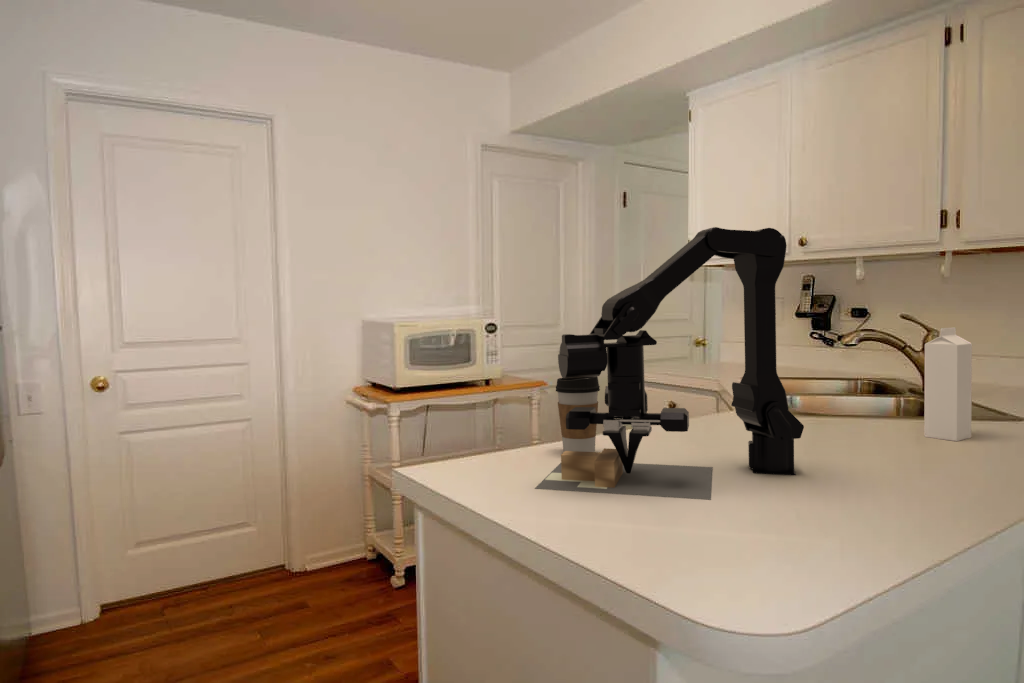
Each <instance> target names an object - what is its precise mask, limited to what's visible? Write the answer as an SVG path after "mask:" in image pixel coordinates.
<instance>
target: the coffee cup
mask: <svg viewBox="0 0 1024 683" xmlns="http://www.w3.org/2000/svg"><path fill="white" fill-rule="evenodd" d="M600 388H601V385H600V384H599V376H596V377H578V378H562V377H559V378H557V379H556V385H555V392H557V398H558V399H557V400H558V402H557V407H558V409H557V410H558V416H559V425H560V432H561V433H560V434H561V441H562V450H563V452H562V453H564V452H565V451H580V452H596V435H597V426H598V424H590V425H589V426H588V427H587V428H586V429H585V430H575V429H566V414H567V413H568V412H569V411H571V410H572V409H573V408H575V407H595V409H596V413H599V412H598V409H599V401H598V394H599V393H598V392H599V391H600V390H601V389H600Z"/></svg>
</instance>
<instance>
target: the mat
mask: <svg viewBox="0 0 1024 683" xmlns="http://www.w3.org/2000/svg"><path fill="white" fill-rule="evenodd" d="M713 470H714V467H713V466H698V465H676V464H657V463H655V464H654V463H635V462H634V463H633V467H632V470H631V473H626V471H625V469H624V466H623V473H622V475H621V477H620V479H619V481H618V482H617V484H616V486H615V488H610V487H595V481H581V480H563V479H562V473H561V462H560V463H559V464H557V466H556V467H555V468H553V470H552V471H550V473H549V474H548V475H547V476H545V478H544V479H542V480H541V481H540V483H538V485H537V486H536V487H535V488H534V489H535V490H545V491H546V490H547V491H548V490H549V491H561V492H562V491H563V492H565V491H566V492H576V493H577V492H578V493H579V492H580V493H593V494H595V493H596V494H613V495H628V496H640V497H641V496H644V497H657V498H673V499H690V500H708V501H711V500H712V486H713V485H712V484H713V472H714V471H713Z"/></svg>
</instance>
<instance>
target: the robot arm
mask: <svg viewBox="0 0 1024 683" xmlns="http://www.w3.org/2000/svg"><path fill="white" fill-rule="evenodd" d="M786 240H787V239H786V238H785V236H784V235H783V234H782V233H781V232H780V231H779V230H777V229H776V228H774V227H772V228H771V227H765V228H762V229H757V230H745V229H728V228H721V227H718V226H713V227H710V228H706V229H702V230H700V231H698V232H697V233H696V235H695V236H694V237H693V238H692V239H691V240H690V241H688V242H687V243H686V244H685V245H684V246H683V247H681V248H680V249H679V250H678V251H676V252H675V253H674V254H672V256H671V257H669V258H667V260H666V261H665V262H663V263H662V264H661V265H660V266H659V267H658V268H656V269H655V270H654V271H653V272H651V273H650V274H649V275H648V276H647V277H645V278H644V279H643V280H641V281H640V282H637V283H635V284H633V285H630V286H629V287H627V288H625V289H623V290H621V291H619V292H618V293H616V294H615V295H613V296H611V297H609V298H608V299H607V300H605V302H604V303H603V305H602V306H601V316H600V318H599V319H598V321H597V323H596V324H595V325H594V326H593V328H592V330H591V331H590V333H588V334H572V333H568V334H567V333H566V334H562V335H561V343H560V346H559V351H558V352H559V353H558V355H557V362H558V369H559V370H558V371H559V374H560V376H561V378H578V377H596V376H597V377H600V375H601V374H602V372H605V370H606V371H607V372H606V373H607V385H605V390H604V404H605V405H606V406H607V408H608V412H598V413H596V409H595V407H575V408H573V409H572V410H571V411H569V412H568V413H567V414H566V429H575V430H585V429H586V428H587V427H588V426H589V425H590V424H597V425H603V426H602V427H603V431H602V435H603V436H608V438H609V440H610V441H611V443H612V444H613V446H614V449H616V450H617V452H618V454H619V457H620V459H621V461H622V464H623V466H624V469H625V471H626V473H631V470H632V467H633V463H635V459H636V456H637V452H638V449H639V446H640V444H641V441H642V439H643V437H649V436H650V434H651V433H652V430H653V429H652V426H660V427H661V428H662V429H663V430H664V431H665V432H677V433H679V432H680V433H683V432H685V433H686V432H688V431H689V428H690V414H689V413H690V412H689V411H688V410H687V409H686V408H685V407H663V408H662V409H661V411H660V413H659V412H648V410H649V409H648V393H647V392H646V390H645V356H644V355H645V352H644V346H655V345H657V343H658V342H657V340H656V339H654V338H653V337H652V336H651V335H650V334H649V333H648V331H647V330H646V329H644V330H643V328H644V326H645V325H646V324H647V323H648V321H650V319H651V318H652V317H653V315H654V314H655V313H656V312H657V310H658V308H659V306H660V304H661V302H662V301H663V300H664V299H665V298H666V297H667V296H668V295H669V294H671V293H672V292H673V291H674V290H675V289H677V287H678V286H680V285H681V284H682V283H683V282H685V281H686V280H687V279H688V278H689V277H690V276H692V274H694V273H696V271H698V270H699V269H700V268H701V267H702V266H703V265H705V264H706V263H707V262H709V260H711V259H712V258H713V257H719V258H722V259H729V260H733V264H734V270H735V271H736V274H737V275H738V277H739V280H740V281H741V283H742V286H743V317H744V318H743V320H744V322H743V324H744V326H743V327H744V374H743V375H742V377H741V380H740V382H736V381H735V382H734V381H733V382H732V384H731V389H732V397H733V398H732V401H731V404H730V405H731V406H732V407H734V409H735V414H736V415H737V417H738V418H739V419H740V420H741V421H742V422H743V425H744V428H745V430H746V431H747V432H751V440H749V441H748V442H747V444H748V450H747V451H748V454H747V455H748V468H749V469H751V471H752V473H753V474H757V475H759V474H760V475H776V476H777V475H778V476H796V475H797V473H796V470H795V440H797V439H798V440H799V439H801V438H802V434H803V432H804V427H805V426H804V424H803V423H802V422H801V421H800V420H799V419H798V418H797V417H796V416H795V414H793V413H792V412H791V411H790V410H789V403H788V397H787V391H786V389H785V387H784V385H783V383H782V380H781V379H780V377H779V375H778V371H777V323H776V322H777V319H776V318H777V317H776V314H777V312H776V284H777V282H778V279H779V278H780V275H781V273H782V271H783V269H784V267H785V266H784V265H785V261H786V255H787V252H786V251H787V241H786ZM637 331H638V332H637ZM635 332H637V333H636V334H635V335H633V334H630V335H629V334H628V335H626V334H627V333H635ZM613 340H614V341H615V340H616V341H615V342H605V341H613ZM626 425H628V426H629V425H630V426H631V430H630V431H629V433H628V439H627V427H626Z"/></svg>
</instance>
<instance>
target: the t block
mask: <svg viewBox="0 0 1024 683" xmlns="http://www.w3.org/2000/svg"><path fill="white" fill-rule="evenodd" d="M560 463H561V473H562V479H563V480H581V481H595V487H610V488H615V486H616V484H617V482H618V481H619V479H620V477H621V475H622V473H623V464H622V461H621V459H620V457H619V454H618V452H617V450H616V448H603V449H602V451H600V452H598V451H595V452H580V451H565V452H562V453H561V454H560Z"/></svg>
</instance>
